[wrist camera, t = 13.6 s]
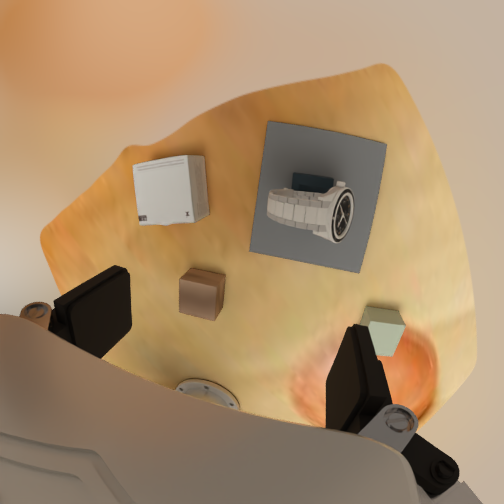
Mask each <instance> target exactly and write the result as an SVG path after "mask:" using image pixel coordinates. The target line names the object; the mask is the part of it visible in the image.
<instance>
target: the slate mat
mask: <svg viewBox="0 0 504 504" xmlns="http://www.w3.org/2000/svg"><path fill="white" fill-rule="evenodd" d="M386 148H387V144H384V143H380V142H376V141H372V140H368V139H364V138H360V137H356V136H351V135H347V134H342V133H338V132H333V131H328V130H322V129H317V128H311V127H306V126H300V125H293V124H286V123H279V122H272V121H268V125H267V132H266V139H265V145H264V152H263V159H262V166H261V173H260V180H259V187H258V194H257V201H256V208H255V215H254V222H253V229H252V236H251V243H250V250H249V251H250V252H255V253H260V254H265V255H270V256H275V257H280V258H285V259H290V260H295V261H300V262H305V263H310V264H315V265H320V266H325V267H330V268H335V269H340V270H345V271H350V272H355V273H359V272H360V269H361V265H362V262H363V258H364V254H365V250H366V247H367V243H368V239H369V235H370V230H371V226H372V222H373V218H374V213H375V208H376V204H377V199H378V194H379V189H380V183H381V178H382V172H383V167H384V161H385V154H386ZM294 172H296V173H304V174H311V175H318V176H325V177H331V178H333V179H334V184H333V187H335V186H336V184H337V181H341V182H345V183H346V184H345V187H347V188H350V189H351V190H352V192H353V195H354V214H353V219H352V223H351V226H350V228H349V231H348V233H347V235H346V236H345V238H344V239H343V240H342V241H341V242H340V243H333V242H332V241H330V240H326V239H324V238H322V237H320V236H318V235H315V234H313V230H308V229H302V228H297V227H292V226H288V225H285V224H282V223H279V222H277V221H274V220H272V219H271V218H269V217H268V216H267V202H268V195H269V191H270V190H275V189H284V188H288V189H291V186H292V177H293V173H294Z"/></svg>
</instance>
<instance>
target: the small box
mask: <svg viewBox="0 0 504 504" xmlns="http://www.w3.org/2000/svg"><path fill="white" fill-rule="evenodd" d="M133 177H134V185H135V194H136V201H137V209H138V216H139V223H140V225H164V226H167V225H170V224H177V223H195V222H197V221H199V220H201V219H203V218H204V217H206V216H208V215H210V212H209V204H208V193H207V181H206V170H205V157H204V156H198V155H180V156H174V157H168V158H162V159H157V160H152V161H147V162H143V163H138V164H134V165H133Z"/></svg>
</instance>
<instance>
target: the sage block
mask: <svg viewBox="0 0 504 504" xmlns="http://www.w3.org/2000/svg"><path fill="white" fill-rule="evenodd" d="M360 325H363V326H368V328H369V332H370V335H371V338H372V342H373V345H374V349H375V352H376V355H381V356H391V357H392V356H393V354H394V352H395V349H396V347H397V345H398V343H399V340H400V338H401V336H402V334H403V331H404V329H405V326H406V325H405V323H404V321H403V319H402V317H401V315H400V313H399V311H395V310H388V309H382V308H375V307H369V306H366V307H365V310H364V313H363V316H362V319H361V322H360Z"/></svg>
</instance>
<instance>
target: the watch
mask: <svg viewBox="0 0 504 504" xmlns="http://www.w3.org/2000/svg"><path fill="white" fill-rule="evenodd" d="M333 184H334V179H333V178H331V177H325V176H318V175H311V174H304V173H296V172H294V173H293V177H292V186H291V189H288V188H284V189H275V190H270V191H269V195H268V202H267V216H268V217H269V218H271V219H272V220H274V221H277V222H279V223H282V224H285V225H288V226H292V227H297V228H302V229H308V230H313V234H315V235H318V236H320V237H322V238H324V239H326V240H330V241H332V242H333V243H340V242H341V241H342V240H343V239H344V238H345V236H346V235H347V233H348V231H349V228H350V226H351V223H352V219H353V214H354V195H353V192H352V190H351V189H350V188H347V187H345V184H346V183H345V182H341V181H337V184H336V186H335V187H333Z"/></svg>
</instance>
